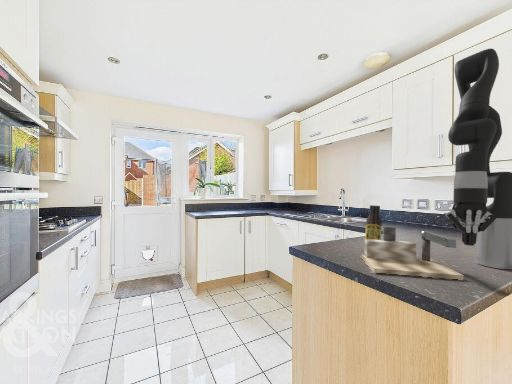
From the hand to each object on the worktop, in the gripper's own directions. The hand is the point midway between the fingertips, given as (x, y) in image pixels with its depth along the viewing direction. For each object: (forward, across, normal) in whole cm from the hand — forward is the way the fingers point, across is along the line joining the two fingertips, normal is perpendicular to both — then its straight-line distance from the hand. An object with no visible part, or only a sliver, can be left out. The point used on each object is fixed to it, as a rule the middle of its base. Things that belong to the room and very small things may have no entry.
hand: (468, 245), depth 71 cm
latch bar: (+1, +6, -6) cm, 8 cm away
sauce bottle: (+10, +19, -29) cm, 36 cm away
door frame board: (+10, +15, -6) cm, 19 cm away
